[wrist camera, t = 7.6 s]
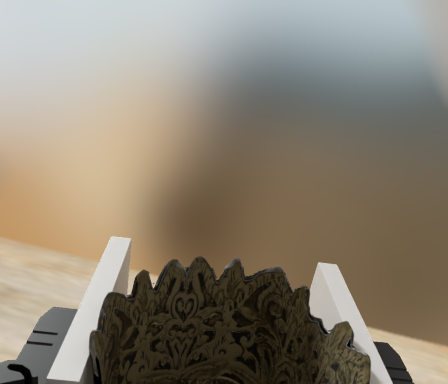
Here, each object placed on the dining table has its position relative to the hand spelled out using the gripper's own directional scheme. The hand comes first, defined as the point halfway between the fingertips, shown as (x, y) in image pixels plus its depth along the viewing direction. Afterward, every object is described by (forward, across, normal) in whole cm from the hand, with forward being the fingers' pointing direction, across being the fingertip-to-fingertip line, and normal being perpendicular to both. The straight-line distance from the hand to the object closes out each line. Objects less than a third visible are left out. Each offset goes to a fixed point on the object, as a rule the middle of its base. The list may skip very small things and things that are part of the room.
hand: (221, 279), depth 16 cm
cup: (-5, 0, -6) cm, 8 cm away
